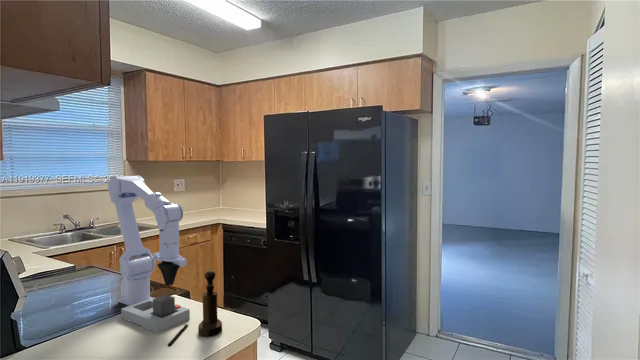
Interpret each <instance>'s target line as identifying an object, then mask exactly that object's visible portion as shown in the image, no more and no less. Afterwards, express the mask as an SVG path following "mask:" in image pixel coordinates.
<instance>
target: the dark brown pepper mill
mask: <svg viewBox="0 0 640 360" xmlns="http://www.w3.org/2000/svg"><path fill="white" fill-rule="evenodd" d="M216 275H217V274H216V271H215V270H214V269H213V268H209V269H206V270H205V271H204V279H205V280H206V282H207V284H205V289H206V291H205V292H203V293H202V320H201V322H199V324H198V329H197V332H198V333H197V334H198V335H199V336H200V337H202V338H203V337H204V338H212V337H215V336H218V335H221V333H222V331H223V323H222V322H223V321H221V320H220V319H219V318H218V292H217V291H214V288H215V284H214V282H213V281H214V279H215V278H216Z"/></svg>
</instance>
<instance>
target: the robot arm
mask: <svg viewBox="0 0 640 360" xmlns="http://www.w3.org/2000/svg"><path fill="white" fill-rule="evenodd" d="M145 183H146V182H145V179H144V178H143V177H142V176H141V175H138V174H137V175H122V176H121V175H119V176H116V175H113V176H111V177H110V179H109V180H108V184H107V190H108V193H109V198H110V201H111V202H112V203H114V206H115V209H116V214H117V218H118V222H119V226H120V230H121V235H122V239H123V243H124V247H125V251H124V252H123V253H122V254H121V256H120V257H119V258H118V259H119V271H120V275H121V276H122V277H123V278H122V279H121V282H120V299H119V300H118V303H121V304H124V305H126V306H130V305H133V304H136V303H139V302H142V301H145V300H148V299H151V298H153V297H152V296H151V283H150V282H151V276H152V273H153V272H154V271H155V269H156V261H157V262H160V263H157V267H158V269H159V270H160V273H161V275H162V277H163V278H162V279H163V281H164V286H166V287H169V286H172V285H174V284H175V280H176V276H177V274H178V271H179V269H180V268H181V267H185V266H187V265H188V263H187V260H188V259H187V258H184V257H183V256H182V255H180V222H181V220H182V219H183V216H184V211H183V207H182V206H181V205H180V203H172V202H170V201H169V200H168V199H167V198H165V197H164V196H163V195H162V193H161V192H153V191H152V190H151V189H150V188H149V187H148V186H147V185H146V184H145ZM139 198H140V199H142V200H143V201H144V205H145V207H146V208H147V209H148V210H150V212H152V213H153V214H154V217H155V220H156V223H157V226H156V227H157V229H158V231H159V235H158V236H159V245H158V246H159V252H153V253H152V252H151V250H150V249H149V248H147V247H145V246H143V242H142V239H141V235H140V231H139V227H138V223H137V219H136V215H135V211H134V208H133V207H134V206H133V203H134V202H136V201H137V200H138V199H139Z"/></svg>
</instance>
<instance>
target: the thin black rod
mask: <svg viewBox="0 0 640 360" xmlns="http://www.w3.org/2000/svg"><path fill="white" fill-rule="evenodd" d="M188 326H189V324H188V323H186V324H185V325H184V326H183V327H182V328H181V329H180V330H179V331H178V332H177V333H176V335H175V336H174V337H173V338H172V339H171V340H170V341H169V342H168V343H167V347H171V346H172V345H173V344H174V343H175V342H176V341H177V339H179V337H180V336H181V335H182V334H183V333H184V332H185V330H186V329H187V328H188Z"/></svg>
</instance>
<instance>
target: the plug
mask: <svg viewBox="0 0 640 360" xmlns="http://www.w3.org/2000/svg"><path fill="white" fill-rule="evenodd" d="M154 298H155V299H153V315H155V316H158V317H160V318H163V317H166V316H168V315H171V314H173V313H175V305H176V303H175V302H176V301H175V298H176V297H175V296H172V295H168V294H164V295H162V296H159V297H154Z"/></svg>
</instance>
